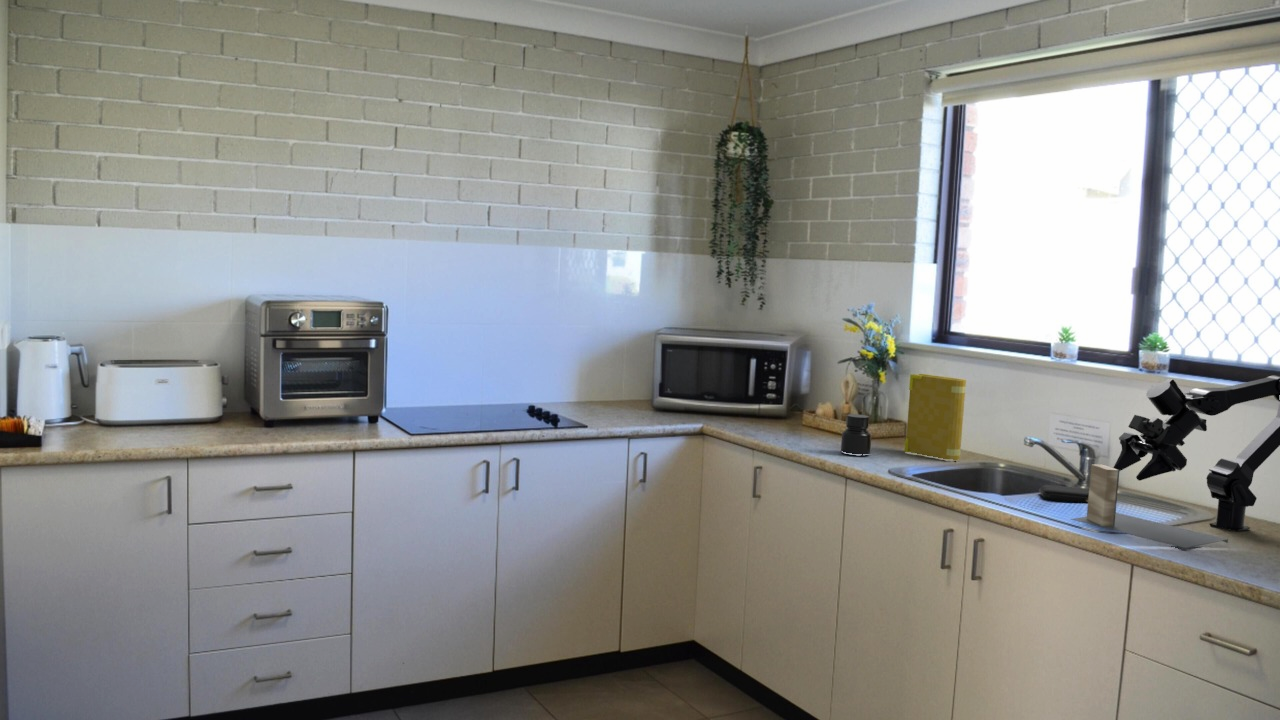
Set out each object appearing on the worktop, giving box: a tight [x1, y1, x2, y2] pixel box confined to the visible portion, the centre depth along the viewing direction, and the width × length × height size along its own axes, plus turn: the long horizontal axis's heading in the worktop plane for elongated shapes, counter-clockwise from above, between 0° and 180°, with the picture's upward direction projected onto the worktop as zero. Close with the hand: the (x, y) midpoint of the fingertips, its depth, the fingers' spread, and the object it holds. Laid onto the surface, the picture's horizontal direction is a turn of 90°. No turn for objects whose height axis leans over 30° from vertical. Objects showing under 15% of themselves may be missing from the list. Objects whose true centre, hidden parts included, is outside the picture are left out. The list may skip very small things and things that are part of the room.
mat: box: [1070, 512, 1229, 552], centre depth 238 cm, size 18×27×1 cm, turn 34°
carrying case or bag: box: [1038, 484, 1089, 505], centre depth 270 cm, size 11×3×15 cm
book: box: [903, 373, 967, 460], centre depth 324 cm, size 17×7×25 cm, turn 42°
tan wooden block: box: [1086, 463, 1121, 526], centre depth 242 cm, size 3×6×13 cm, turn 7°
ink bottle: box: [840, 413, 872, 455], centre depth 322 cm, size 10×9×12 cm
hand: (1125, 474), depth 242 cm, fingers open, 9 cm apart
